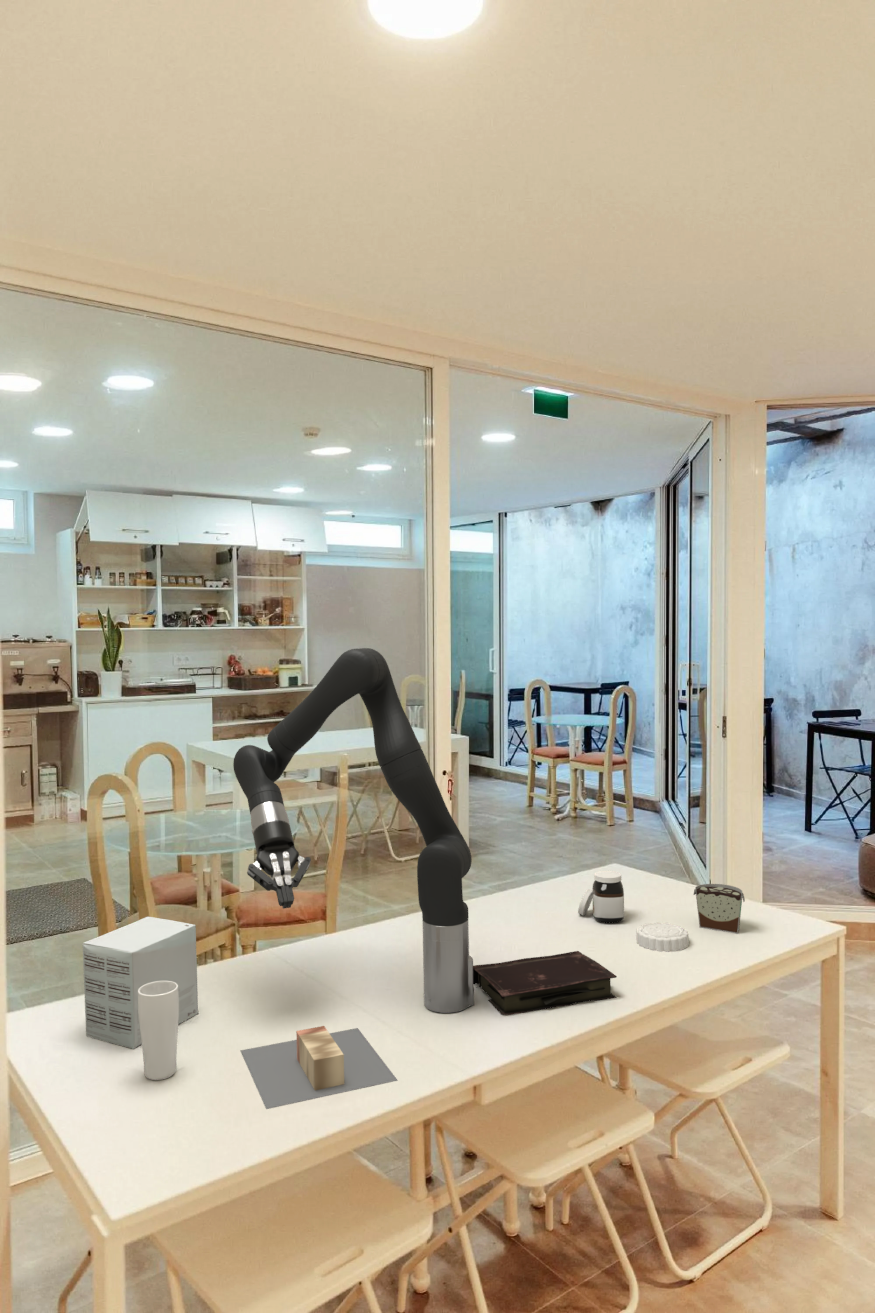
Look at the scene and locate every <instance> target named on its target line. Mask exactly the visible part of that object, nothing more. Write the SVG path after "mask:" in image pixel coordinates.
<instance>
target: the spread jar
mask: <svg viewBox="0 0 875 1313" xmlns="http://www.w3.org/2000/svg"><path fill="white" fill-rule="evenodd" d="M593 878H594V881H593V883H592V889H590V888H587V889H586V890H585V892H584V894H583V895H582V898H581V900H580V902H579V906H578V910H577V913H578V914H579V915H582V916H585V915H586V914H587V912H588V910H589V908H590V906H591V903H592V914H593V915H592V916H593V919H594V920H595V921H596V922H598V923H601V924H602V923H603V924H617V923H620V922H622V921H623V920H624V918H625V893H624V892H625V890H624V886H623V883H622V873H620V872H619V871H613V870H599V871H595V872H594V877H593Z"/></svg>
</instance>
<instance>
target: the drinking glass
mask: <svg viewBox="0 0 875 1313" xmlns="http://www.w3.org/2000/svg"><path fill="white" fill-rule="evenodd" d="M138 1018H139V1027H140V1035H141V1043H142V1044H141V1049H142V1050H141V1051H142V1059H143V1074H144V1076H145V1078H146V1079H148V1080H151V1081H161V1080H165V1079H168V1078H170V1077H171V1076H173V1075H174V1074H175V1073H176V1071H177V1069H178V1068H177V1067H178V1065H177V1054H178V1036H179V1035H178V1033H179V1024H178V1021H179V992H178V985H177V984H176V983H175V982H172V981H155V982H151V983H148V984H145V985H143V986H141V987H140V988H139V989H138Z"/></svg>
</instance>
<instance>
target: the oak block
mask: <svg viewBox="0 0 875 1313" xmlns="http://www.w3.org/2000/svg"><path fill="white" fill-rule="evenodd" d="M295 1032H296V1040H297V1060H298V1062H299V1063H300V1065H301V1067H302V1069H303V1070H304V1072H305V1074H306V1076H307V1077H308V1079H309V1081H310V1083H311V1084H312V1086H313V1088H314V1090H319V1089H324V1088H329V1087H333V1086H338V1085H343V1084H344V1054H343V1053H342V1051H341V1050H340V1048H339V1047H338V1045H337V1044H336V1042H335V1041H334V1040H333V1038H332V1037H331V1035H330V1034H329V1033H330V1032H329V1031H328V1029H327V1027H326V1026H325V1025H321V1026H317V1027H311V1028H305V1029H300V1030H296V1031H295Z"/></svg>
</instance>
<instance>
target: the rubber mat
mask: <svg viewBox="0 0 875 1313" xmlns="http://www.w3.org/2000/svg"><path fill="white" fill-rule="evenodd" d="M329 1034H330V1035H331V1037H332V1038H333V1040H334V1041H335V1042H336V1044H337V1045H338V1047H339V1048H340V1050H341V1051H342V1053H343V1054H344V1084H343V1085H338V1086H333V1087H329V1088H324V1089H319V1090H314V1088H313V1086H312V1084H311V1083H310V1081H309V1079H308V1077H307V1076H306V1074H305V1072H304V1070H303V1069H302V1067H301V1065H300V1063H299V1062H298V1060H297V1039H294V1040H287V1041H283V1042H277V1043H273V1044H267V1045H262V1046H257V1047H251V1048H245V1049H242V1050H240V1053H241V1056H242V1058H243V1061H244V1062H245V1065H246V1067H247V1069H248V1071H249V1073H250V1075H251V1078H252V1080H253V1083H254V1085H255V1087H256V1089H257V1092H258V1094H259V1096H260V1097H261V1100H262V1103H263V1105H264V1107H265V1109H266V1110H268V1109H269V1110H270V1109H274V1108H279V1107H283V1106H286V1105H288V1106H289V1105H292V1104H297V1103H301V1102H307V1101H311V1100H315V1099H320V1098H324V1097H329V1096H333V1095H338V1094H343V1093H347V1092H353V1091H357V1090H361V1089H365V1088H369V1087H375V1086H379V1085H383V1084H388V1083H392V1082H397V1081H398V1078H397V1077H396V1076H395V1074H393V1072H392V1071H391V1069H390V1068H389V1067H388V1066H387V1064H386V1063H385V1062H384V1060H383V1059H382V1058H381V1057H380V1055H379V1054H378V1052H377V1051H376V1050H375V1048H374V1047H373V1046H372V1045H371V1043H370V1042H369V1040H367V1038H366V1037H365V1036H364V1034H363V1032H362V1031H361V1030H360V1029H359V1028H358V1027H355V1028H352V1029H345V1030H340V1031H335V1032H329Z"/></svg>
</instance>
